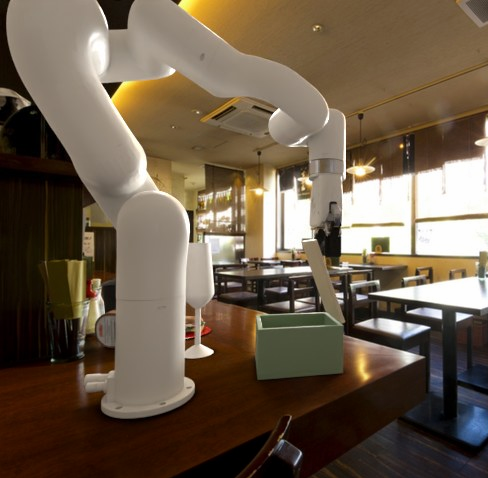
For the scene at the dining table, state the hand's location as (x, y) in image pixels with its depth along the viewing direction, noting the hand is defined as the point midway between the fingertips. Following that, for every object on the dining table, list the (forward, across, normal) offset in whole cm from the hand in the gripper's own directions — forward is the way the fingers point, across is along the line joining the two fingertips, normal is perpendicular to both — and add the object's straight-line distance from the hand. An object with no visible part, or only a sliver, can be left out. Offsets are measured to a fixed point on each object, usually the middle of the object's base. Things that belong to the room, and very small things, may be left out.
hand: (326, 256), depth 67 cm
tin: (+22, -18, -42) cm, 51 cm away
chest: (+21, 0, -6) cm, 22 cm away
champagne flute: (+22, -11, -26) cm, 36 cm away
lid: (+5, 0, -1) cm, 5 cm away
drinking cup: (+22, -30, -48) cm, 61 cm away
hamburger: (+22, -29, -32) cm, 48 cm away
